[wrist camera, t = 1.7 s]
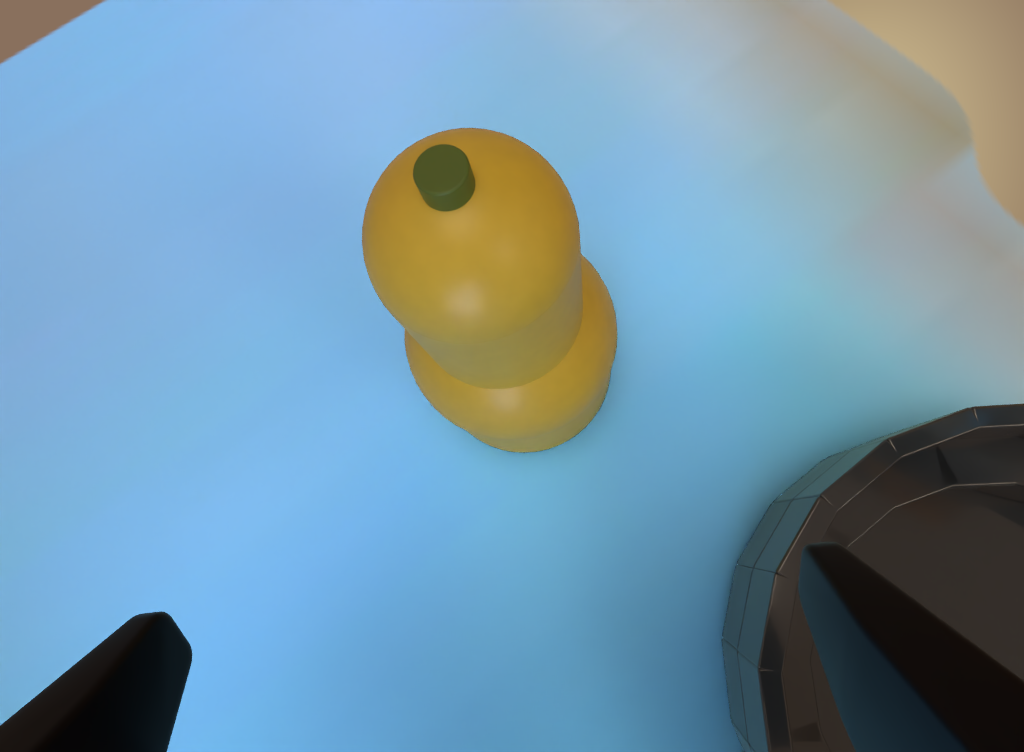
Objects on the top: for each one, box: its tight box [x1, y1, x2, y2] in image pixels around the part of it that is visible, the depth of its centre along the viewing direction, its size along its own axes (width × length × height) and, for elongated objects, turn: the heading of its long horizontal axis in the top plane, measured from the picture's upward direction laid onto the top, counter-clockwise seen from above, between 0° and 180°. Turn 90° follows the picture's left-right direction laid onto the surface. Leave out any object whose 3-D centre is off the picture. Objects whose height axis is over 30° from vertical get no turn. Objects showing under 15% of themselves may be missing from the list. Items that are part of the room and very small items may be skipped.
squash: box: [362, 128, 617, 453], centre depth 17 cm, size 7×7×13 cm
